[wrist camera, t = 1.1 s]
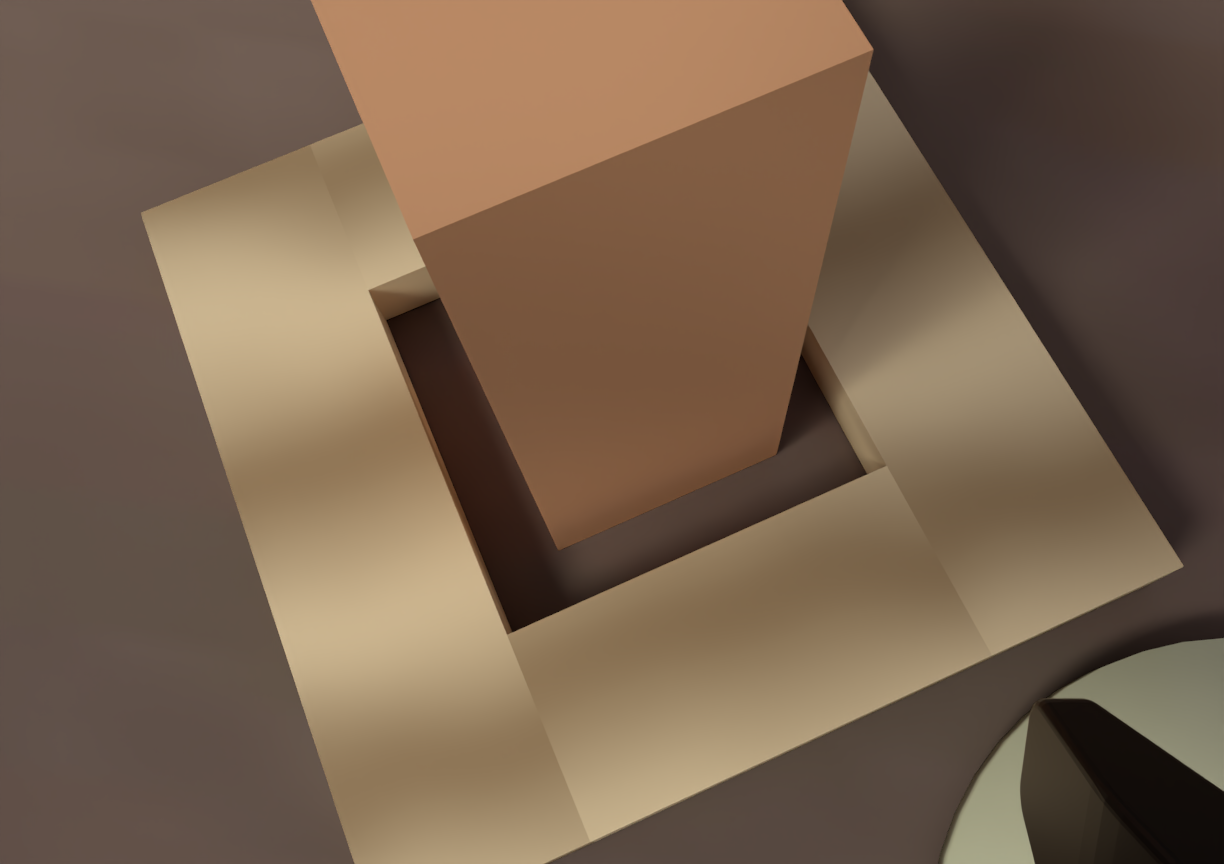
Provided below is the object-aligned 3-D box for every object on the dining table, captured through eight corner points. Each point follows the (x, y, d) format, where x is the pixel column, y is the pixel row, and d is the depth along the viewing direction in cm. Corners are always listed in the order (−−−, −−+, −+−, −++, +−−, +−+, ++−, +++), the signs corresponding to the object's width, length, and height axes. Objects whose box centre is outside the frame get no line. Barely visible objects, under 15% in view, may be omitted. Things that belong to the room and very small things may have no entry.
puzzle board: (1152, 583, 22) (1183, 566, 21) (400, 931, 21) (379, 940, 19) (786, -4, 27) (792, -49, 26) (170, 246, 26) (140, 212, 25)
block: (776, 454, 23) (873, 49, 11) (558, 550, 23) (412, 239, 11) (676, 263, 25) (668, -271, 13) (472, 349, 25) (261, -117, 12)
